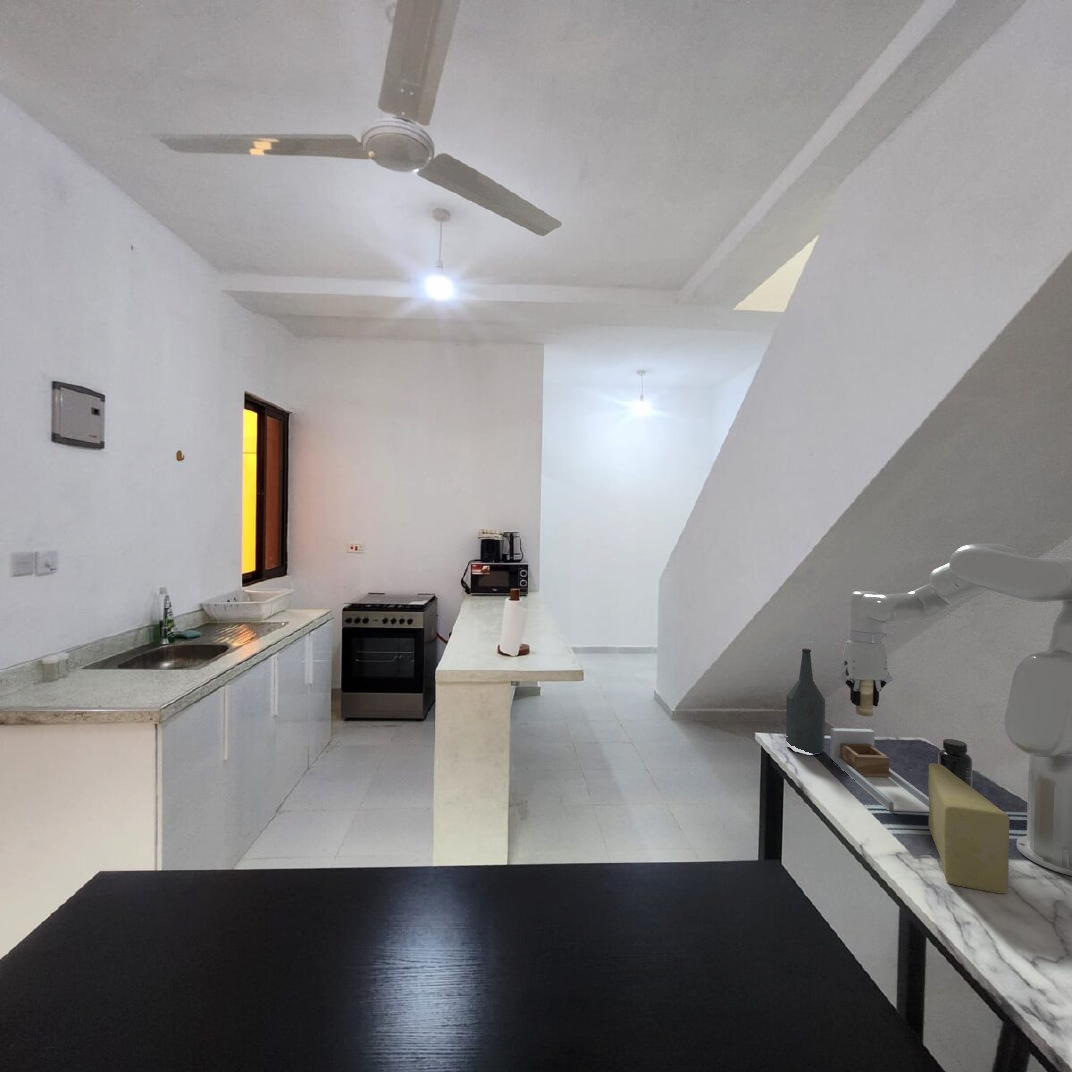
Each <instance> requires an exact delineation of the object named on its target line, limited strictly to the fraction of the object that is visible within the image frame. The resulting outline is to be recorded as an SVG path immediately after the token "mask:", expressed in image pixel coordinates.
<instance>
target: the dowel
mask: <svg viewBox="0 0 1072 1072" xmlns="http://www.w3.org/2000/svg"><path fill="white" fill-rule="evenodd" d="M873 682H874V680H869V679H868V680H860V683H859V688H858V691H860V706H856V705H855V714H857V715H859V716H861V717H874V705H873Z"/></svg>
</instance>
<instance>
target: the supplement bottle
mask: <svg viewBox="0 0 1072 1072" xmlns="http://www.w3.org/2000/svg"><path fill="white" fill-rule="evenodd" d="M937 754H938V755H937V759H938V760H937V764H940V765H943V766H944V767H945V768H947V769H948V770H949V771H950V772H952V773H953V774H954V775H956V776H957V777H958V778H960V779H961V780H962V781H964V782H965V783H966V784H968V785H969V786H970V787H972V788H973V759H972V757H971V756H970V755H969V754H968V745H967V743H966V742H964V741H961V740H958V739H953V738H944V739H943V740H942V749H940V750H939V751H938V753H937Z"/></svg>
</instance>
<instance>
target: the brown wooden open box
mask: <svg viewBox="0 0 1072 1072" xmlns="http://www.w3.org/2000/svg"><path fill="white" fill-rule="evenodd" d="M840 758H841V759H842V760H844V761H845V762H846V763H847V764H848V765H850V766H851V767H852V768H853V769H854V770H856V771H857V772H858V773H859V774H860V775H862V776H879V777H889V768H890V757H888V756H887V755H886V754H885V753H884V752H882V751H880V750H879V749H878V748H876V747H875V746H874V747H873V746H872V745H870V744H845V743H840Z"/></svg>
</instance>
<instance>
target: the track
mask: <svg viewBox="0 0 1072 1072" xmlns="http://www.w3.org/2000/svg"><path fill="white" fill-rule="evenodd" d="M875 734H876V733H875V731H874V730H873V729H871V728H844V727H843V728H840V727H839V728H838V727H831V728H830V742H829V743H830V744H829V745H830V747H829V748H830V750H829V751H830V753H829V759H830V758H831V759H832V760H833V761H835V762H836V763H837V764H838V765H839V766H840V767H841V769H840V770H841V771H843V772H844V771H845V772H846V773H847V774H848V775H849V776H848V775H847V774H846V773H845V772H844V773H845V774H846V775H847V776H848V777H849V778H851V779H852V780H853V779H854V780H855V781H854V780H853V781H854V782H855V783H856V784H858V786H860V787H861V789H863V790H864V791H865V792H866V793H868V794H869V795H870V796H871V797H872V798H874V800H876V802H878V803H879V804H880V805H882V806H883V807H884V808H885V809H886V810H887V811H888V812H912V813H913V812H914V813H916V812H917V813H929V796H927V795H926V794H925V793H923V792H922V791H921V790H919V789H918V788H917V787H916V786H914V785H913V784H912V783H910V782H909V781H907V780H906V779H904V778H903V777H902V776H900V775H899V774H898V773H897V772H895V771H894V770H892V769H891V768H890V767H889V777H879V776H862V775H860V774H859V773H858V772H857V771H856V770H854V769H853V768H852V767H851V766H850V765H848V764H847V763H846V762H845V761H844V760H842V759H841V758H840V743H845V744H870V745H872V746H873V747H875V737H876V735H875Z"/></svg>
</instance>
